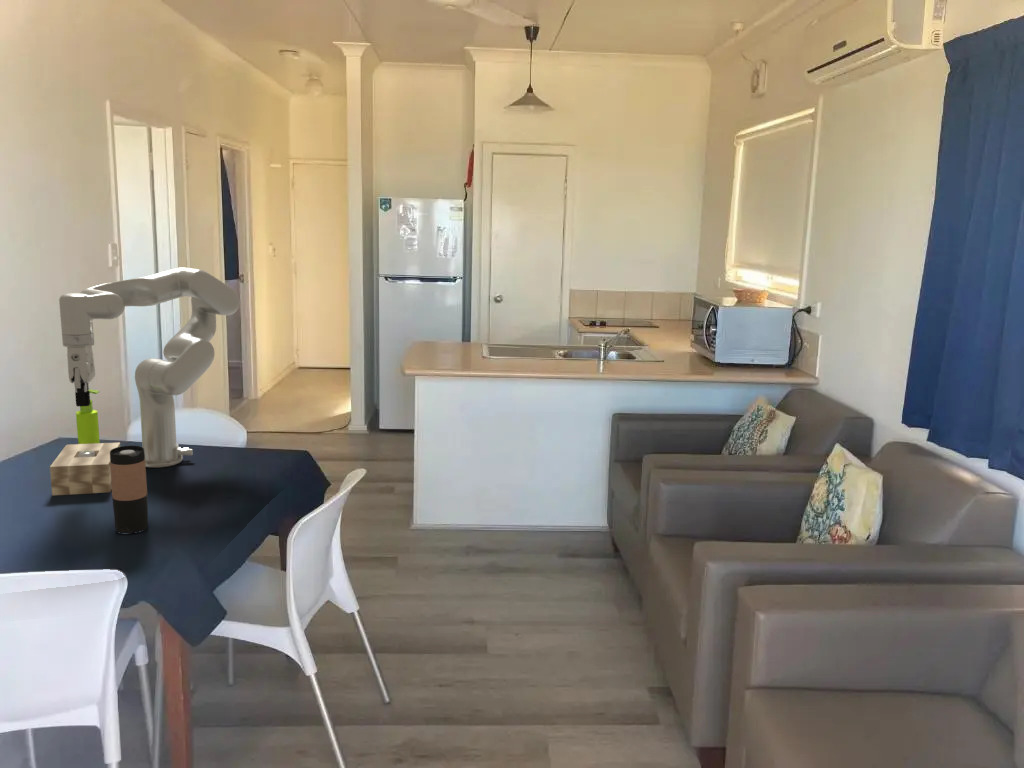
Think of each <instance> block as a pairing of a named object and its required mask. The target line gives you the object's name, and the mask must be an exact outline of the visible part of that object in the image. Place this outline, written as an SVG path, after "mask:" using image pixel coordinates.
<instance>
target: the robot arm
mask: <svg viewBox="0 0 1024 768" xmlns="http://www.w3.org/2000/svg"><path fill="white" fill-rule="evenodd" d="M184 297H190V298H191V299H190V300H191V315H190V318H189V320H188V321H187V322H186V324H184V326H183V327H182V328H181V329H179V330H178V331H177V332H176V333H175V335H173V337H171V339H169V340H168V341H167V342H166V344H165V345H164V346H163V347H164V348H163V350H162V351H163V352H162V353H163V357H164V358H165V359H160V358H151V357H150V358H147V359H143V360H142V361H141V362H139V363H138V365H137V366H136V369H135V371H134V380H135V386H136V388H137V389H136V390H137V393H138V398H139V407H140V408H139V409H140V411H139V412H140V413H139V414H140V428H141V430H140V431H141V441H142V443H141V444H142V445H141V447H143V448H144V453H145V468H166V467H167V468H168V467H171V466H175V465H177V464H180V463H182V461H183V460H184V459H183V458H184V457H183V456H193V453H194V452H193V449H192V448H189V447H183V448H181V446H179V443H177V425H176V405H175V399H174V396H180V395H183V394H184V393H185V392H187V391H188V390H189V389H190V388H191V387H192V386H193V385H194V384H195V383H196V382H197V381H198V380H199V379H200V378H201V377H202V376H203V375H204V373H206V371H208V370H209V368H210V367H211V365H212V363H213V362H214V359H215V347H214V346H213V344H212V343H211V342H210V341H211V340H212V339H213V337H214V336H215V333H216V331H217V315H218V316H232V315H233V314H235V313H236V312H237V311H238V310H239V308H240V305H241V299H240V297H239V294H238V292H237V291H236V290H235V289H233V288H232V287H231V286H229V285H228V284H226V283H224V282H222V281H221V280H220V279H218V278H216V277H215V276H214V275H212V274H210V273H209V272H208V271H205V270H202V269H199V268H193V267H192V268H191V267H183V266H182V267H176V268H175V267H174V268H171V269H168V270H164V271H161V272H157V273H154V274H150V275H146V276H142V277H135V278H130V279H125V280H118V281H111V282H107V283H102V284H99V285H95V286H91V287H88V288H85V289H83V290H81V291H80V292H72V293H64V294H61V296H59V299H58V301H59V303H58V304H59V313H60V314H59V315H60V316H59V317H60V328H61V339H62V346H63V347H64V348H65V347H66V348H67V349H66V350H67V354H66V356H67V371H68V378H69V382H70V383H71V384H74V395H75V396H74V397H75V405H76V407H80V406H89V405H90V400H91V396H90V394H91V393H89V391H87V390H89V389H90V385H89V383H90V382H92V380H93V379H95V377H96V367H95V360H94V354H93V347H92V346H95V335H94V334H95V333H94V323H93V320H114V319H117V318H119V317H120V316H121V315H122V314H123V313H124V312H125V308H126V307H151V306H152V307H153V306H157V305H159V304H163V303H167V302H169V301H173V300H176V299H178V298H184Z"/></svg>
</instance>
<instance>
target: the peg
mask: <svg viewBox="0 0 1024 768" xmlns="http://www.w3.org/2000/svg"><path fill="white" fill-rule="evenodd" d="M78 456H79V457H95V452H94V451H82V452H79V453H78Z"/></svg>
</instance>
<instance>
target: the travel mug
mask: <svg viewBox="0 0 1024 768" xmlns="http://www.w3.org/2000/svg"><path fill="white" fill-rule="evenodd" d="M110 466H111V484H112V489H111V497H112V499H111V500H112V509H113V517H114V526H115V527H114V528H115V531H117V532H120V533H135V532H139V531H142V530H144V531H146V530H147V529H148V528H147V527H149V519H148V518H149V517H148V515H149V513H148V512H149V511H148V510H149V509H148V487H147V484H148V483H147V471H146V470H147V469H146V468H147V467H145V453H144V448H143V447H142V446H140V445H122V446H120V447H117V448H114V449H112V450H111V451H110ZM146 528H147V529H146ZM145 529H146V530H145ZM117 532H116V533H117ZM142 532H143V531H142ZM120 533H119V534H120Z"/></svg>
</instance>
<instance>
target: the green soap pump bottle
mask: <svg viewBox="0 0 1024 768" xmlns="http://www.w3.org/2000/svg"><path fill="white" fill-rule="evenodd" d="M87 391H89V393H90V394H93V395H96V394H98V393H100V391H99V390H96V389H90V388H89V390H87ZM79 408H80V410H78V411H76V412H75V420H76V431H77V432H76V433H77V442H78V443H77V444H94V443H101V441H100V431H99V429H100V428H99V427H100V426H99V413H98V410H96V409H94V407H93V400H92V399H90V405H89V406H79Z"/></svg>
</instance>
